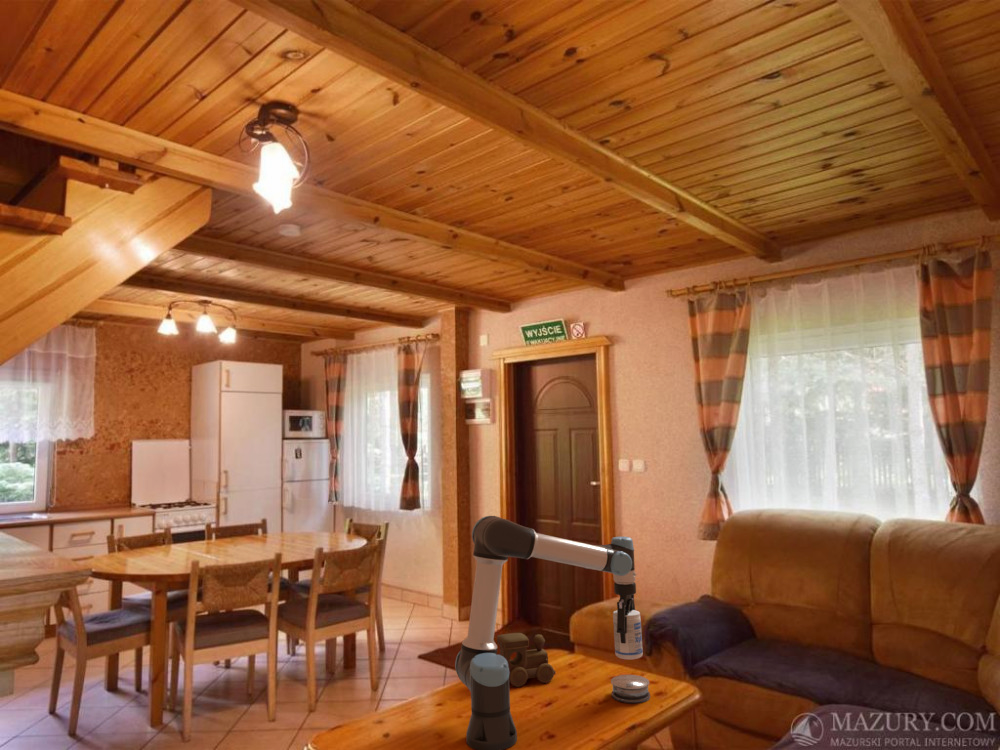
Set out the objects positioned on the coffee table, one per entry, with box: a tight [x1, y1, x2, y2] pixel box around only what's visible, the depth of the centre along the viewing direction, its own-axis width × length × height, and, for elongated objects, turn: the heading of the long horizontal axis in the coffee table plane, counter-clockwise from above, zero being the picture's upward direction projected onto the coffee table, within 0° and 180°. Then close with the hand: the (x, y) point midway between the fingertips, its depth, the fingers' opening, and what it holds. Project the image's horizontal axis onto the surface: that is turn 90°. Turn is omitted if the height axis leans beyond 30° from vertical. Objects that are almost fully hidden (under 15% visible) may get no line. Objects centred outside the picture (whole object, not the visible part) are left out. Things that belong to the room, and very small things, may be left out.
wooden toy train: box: [496, 632, 557, 688], centre depth 246 cm, size 20×11×17 cm, turn 106°
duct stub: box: [610, 674, 651, 705], centre depth 227 cm, size 13×13×5 cm
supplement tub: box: [612, 609, 644, 660], centre depth 229 cm, size 10×10×15 cm
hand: (628, 648), depth 228 cm, fingers closed on supplement tub, 10 cm apart
